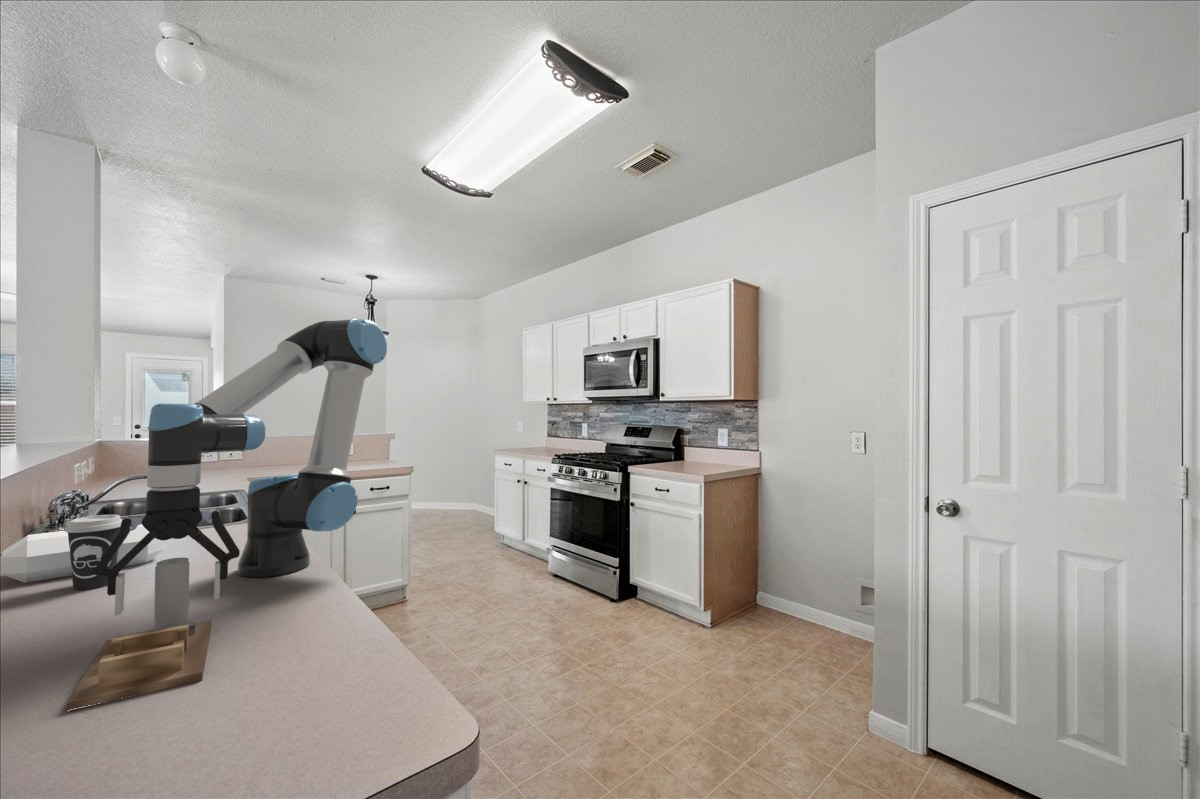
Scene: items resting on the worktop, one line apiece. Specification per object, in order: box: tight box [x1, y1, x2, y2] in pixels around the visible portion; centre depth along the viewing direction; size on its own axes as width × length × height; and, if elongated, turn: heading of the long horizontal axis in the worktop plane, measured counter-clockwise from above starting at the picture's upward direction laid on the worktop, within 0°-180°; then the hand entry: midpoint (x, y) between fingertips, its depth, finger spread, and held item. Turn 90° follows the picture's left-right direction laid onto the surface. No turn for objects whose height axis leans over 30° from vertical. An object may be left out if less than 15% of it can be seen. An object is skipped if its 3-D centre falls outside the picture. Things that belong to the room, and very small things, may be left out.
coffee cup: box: [64, 514, 123, 591], centre depth 114 cm, size 10×10×15 cm
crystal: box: [0, 524, 167, 584], centre depth 126 cm, size 14×10×28 cm
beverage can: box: [153, 557, 190, 630], centre depth 93 cm, size 5×5×12 cm
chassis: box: [66, 620, 212, 711], centre depth 80 cm, size 14×22×5 cm, turn 35°
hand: (170, 604), depth 92 cm, fingers open, 13 cm apart
